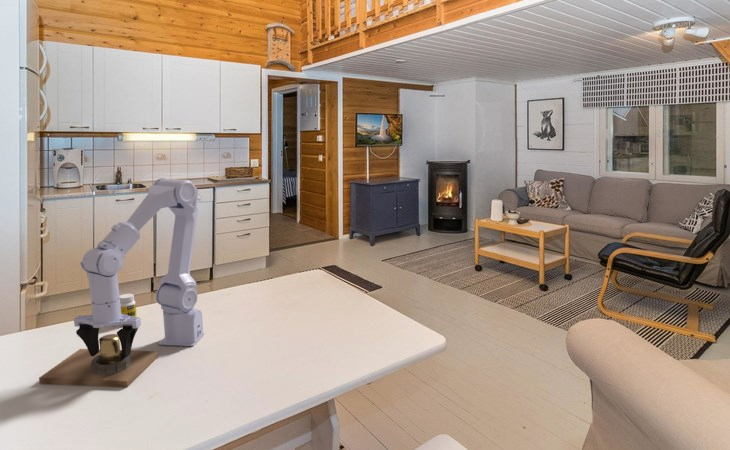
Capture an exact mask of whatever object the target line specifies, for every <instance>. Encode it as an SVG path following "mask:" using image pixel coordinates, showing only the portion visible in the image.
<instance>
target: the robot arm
mask: <svg viewBox="0 0 730 450" xmlns="http://www.w3.org/2000/svg"><path fill="white" fill-rule="evenodd" d="M198 194H199V190H198V188H197V186H195V184H194V183H193V182H192V181H191V180H188V179H172V178H171V179H170V178H164V177H160V178H158V179H156V180H155V181H154V183H153V184H152V185H151V186H150V187H149V188H148V193H147V195H146V196H145V197H144V199H143V200H142V201H141V203H140V204H139V205H138V206H137V207H136V209H135V210H134V211H133V213H132V214H131V215H130V217H129V218H128V219H127V220H126V221H125V222H122V221H121V222H118V223H117V224H113V225H112V227H111V230H110V232H108V234H107V235H106V236H104V238H103V240H101V241H99V242H98V244H97V246H96V247H93V248H91V249H89V250H88V251H86V253H84V255H83V257H82V261H81V262H80V263H79V264H80V267H81V268H82V270H83V271H84V272H85V273H86V274H87V276H86V277H87V279H88V286H89V287H88V288H89V297H90V304H91V305H90V306H91V313H92V314H89V315H87V314H86V315H78V316H76V317H74V318H73V324H74V327H76V328H77V327H78V328H77V329H76V331H75V333H76V335H77V336H78V337H79V338H80V339H81V340H82V342H83V343H84V344H85V347H86V349H88V351H89V353H90V355H91V356H95V355H96V354H97V353H99V349H100V343H99V332H100V331H99V330H100V329H101V328H104V327H113V328H114V327H118V328H119V327H120V329H119V330H118V331H116V334H117V335H118V337H119V342H120V349H121V350H122V356H123V357H124V358H126V357H127V356H128V355H130V354H131V351H132V346H133V342H134V339H135V336H136V334H137V332H138V330H139V327H140V326H141V325H142V319H141V317H132V316H128V315H123V314H121V307H120V289H119V288H120V286H119V277H118V272H119V271H120V270H122V268H123V265H124V259H125V257H126V255H127V253H128V252H129V251H130V250H131V249H132V248H133V247H134V245H136V243H137V242H138V241H139V239H140V238H141V234H140V230H142V229H143V227H144V226H146V225H147V223H149V221H150V220H152V219H153V217H154V216H155V215H157V213H158V212H159V211H161V210H162V209H166V208H168V209H169V210H170V211H171V212H172V213H173V214H174V222H173V229H172V230H173V231H172V238H171V239H172V240H171V246H170V255H169V263H168V270H167V273H166V274H165V275H164V276H162V277H161V278H160V280H159V285H158V288H157V289H156V291H155V301H156V303H158V305H160V308H161V310H162V312H163V313H162V314H163V315H162V316H163V328H164V338H162V340H160V341H159V342H158V345H159V346H175V347H176V346H181V347H182V346H183V347H194V346H195V345H196V344H197V343H198V341H200V339H201V338H202V337H203V336H204V335H205V332H204V325H203V324H204V323H203V312H202V310H201V309H199V308H198V309H197V308H195V306H196V304H197V302H198V292H197V291H198V290H197V282H196V280H195V279H194V278H193V277H192V276H191V268H192V266H191V265H192V260H193V252H194V245H195V244H194V243H195V236H196V229H197V228H196V227H197V220H198V213H199V211H198V210H199V209H198V203H197V202H198V196H199V195H198Z"/></svg>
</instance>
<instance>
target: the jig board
mask: <svg viewBox="0 0 730 450" xmlns="http://www.w3.org/2000/svg"><path fill="white" fill-rule="evenodd" d="M120 353H121V361H120V362H117V363H115V364H110V365H102V362H101V352H100V348H99V353H97V354H96V355H95V356H91V355H90V353H89V351H88V348H79V349H78V350H76V351H75V352H74V353H72V354H70V355H69V356H68V357H66V358H65V359H64V360H62V361H61V362H59V363H58V364H56V365H55V366H54V367H52V368H51V369H50V370H48V371H46V372H45V373H44V374H42V375H41V376H39V377H38V381H39V384H40V385H62V386H84V387H85V386H89V387H111V388H112V387H113V388H129V386H130V385H131V384H133V383H134V381H135V380H136V379H138V378H139V377H140V376H141V375H142V373H144V371H146V370H147V368H148V367H150V366H151V364H152V363H154V361H156V360H157V359H158V357H159V351H157V350H156V351H155V350H153V351H152V350H131V354H130V355H128V356H127V357H126V358H124V357H123V356H122V349H120Z"/></svg>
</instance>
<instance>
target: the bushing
mask: <svg viewBox="0 0 730 450" xmlns="http://www.w3.org/2000/svg"><path fill="white" fill-rule="evenodd" d="M98 340H99V349H100V352H101V362H102V365H110V364H115V363H117V362H120V361H121V353H120V350H121V342H120V339H119V337H118V335H117V333H111V334H105V335H103V336H101V337H99V338H98Z"/></svg>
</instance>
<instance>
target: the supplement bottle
mask: <svg viewBox="0 0 730 450" xmlns="http://www.w3.org/2000/svg"><path fill="white" fill-rule="evenodd" d="M119 296H120V307H121V314H123V315H128V316H132V317H137V304H136V303H137V302H136V300H135V296H134V294H132V293H125V294H119Z"/></svg>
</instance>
